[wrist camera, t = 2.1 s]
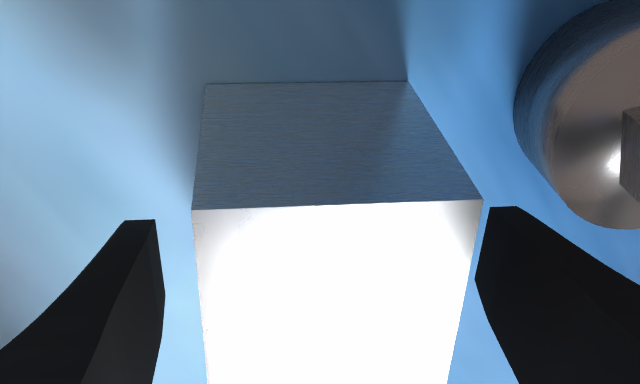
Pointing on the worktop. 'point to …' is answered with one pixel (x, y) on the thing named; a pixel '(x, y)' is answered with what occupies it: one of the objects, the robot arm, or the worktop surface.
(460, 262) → the brushed white cube
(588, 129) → the ratchet
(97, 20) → the worktop surface
